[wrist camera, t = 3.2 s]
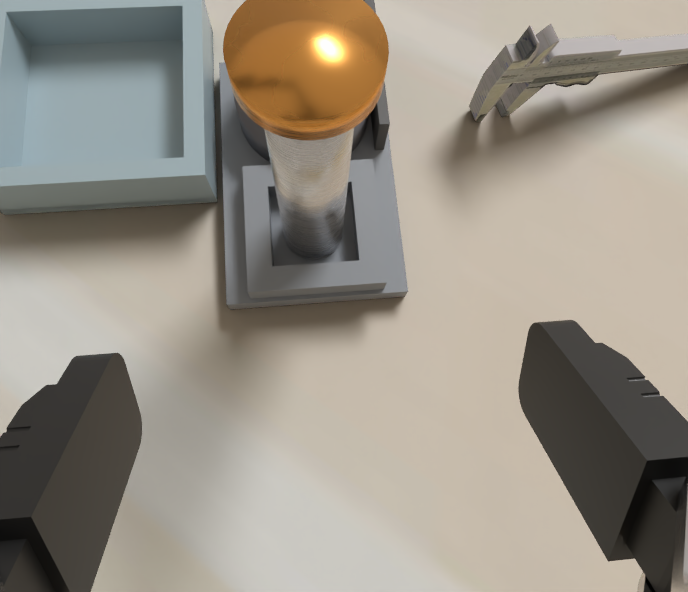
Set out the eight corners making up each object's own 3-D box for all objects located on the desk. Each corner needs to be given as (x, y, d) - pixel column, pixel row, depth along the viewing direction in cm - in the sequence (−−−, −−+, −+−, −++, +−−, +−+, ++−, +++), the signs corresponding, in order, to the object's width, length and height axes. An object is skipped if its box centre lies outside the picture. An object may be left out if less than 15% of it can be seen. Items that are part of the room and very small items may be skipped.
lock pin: (272, 276, 25) (225, 123, 13) (268, 195, 27) (221, -18, 14) (359, 269, 26) (397, 114, 13) (351, 190, 27) (379, -23, 14)
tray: (4, 214, 27) (-34, 188, 24) (20, 39, 29) (-13, -4, 27) (217, 202, 27) (205, 174, 25) (212, 32, 30) (201, -11, 27)
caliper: (471, 127, 30) (510, 49, 24) (465, 112, 30) (502, 31, 24) (772, 52, 32) (877, -37, 26) (763, 38, 32) (866, -53, 26)
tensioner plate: (230, 309, 26) (214, 287, 22) (221, 45, 30) (207, -12, 26) (404, 296, 26) (419, 273, 23) (373, 39, 31) (380, -18, 27)
